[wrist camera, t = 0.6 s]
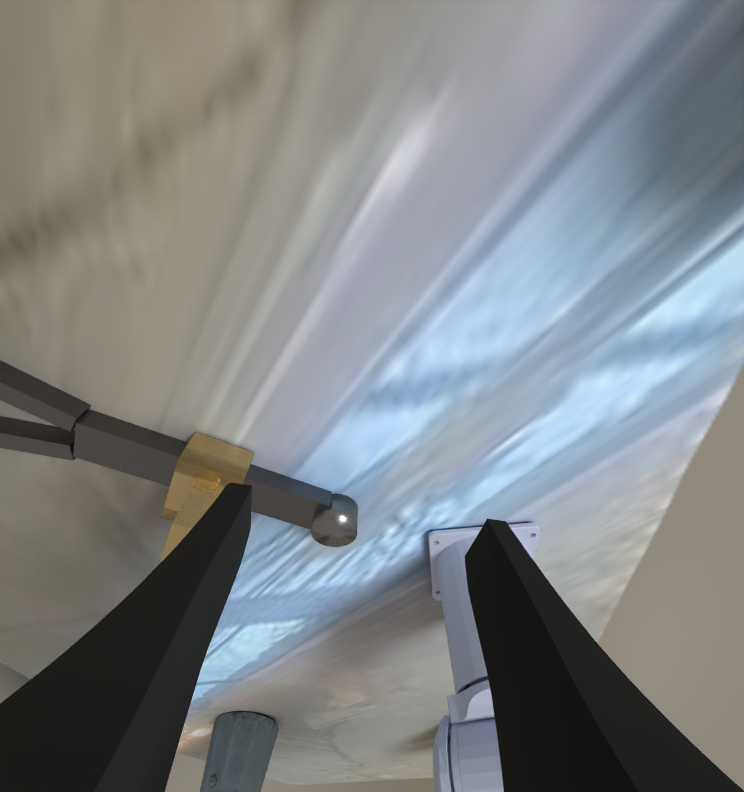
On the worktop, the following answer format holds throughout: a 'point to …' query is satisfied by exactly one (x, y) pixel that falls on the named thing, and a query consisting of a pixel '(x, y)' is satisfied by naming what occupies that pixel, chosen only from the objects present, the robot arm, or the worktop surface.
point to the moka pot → (239, 752)
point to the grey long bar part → (155, 456)
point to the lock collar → (200, 483)
